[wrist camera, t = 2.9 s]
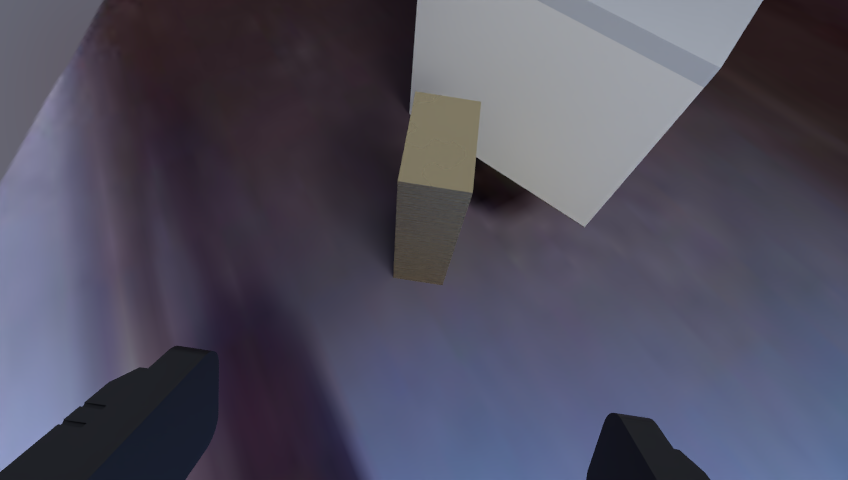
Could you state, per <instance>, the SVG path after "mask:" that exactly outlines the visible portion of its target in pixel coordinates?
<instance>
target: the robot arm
mask: <svg viewBox="0 0 848 480" xmlns="http://www.w3.org/2000/svg"><path fill="white" fill-rule="evenodd" d="M218 389H219V359H218V355H217V353H216V352H214V351H208V350H202V349H195V348H189V347H182V346H174V347H172V348H171V349H170V350H168V351H167V352H166V353H165V354H164V355H163V356H162V357H161V358H159V359H158V360H157V361H156V362H155V363H154V364H153V365H152V366H150V367H149V368H148V369H147V368H141V367H139V368H137V369H135V370H133V371H131V372H129V373H127V374H125V375H123V376H121V377H119V378H117V379H115V380H113V381H111V382H109V383H108V384H106V385H105V386H104V387H103V388H101V389H100V390H99V391H98V392H97V393H95V394H94V395H93V396H92V397H91V398H89V399H88V400H87V401H86V402H85V404H84V406H83V407H78V408H77V409H76V410H75V411H74V412H72V413H71V414H70V415H69V416H68V417H66V418H65V419H64V421H63V423H62V424H61V425H59V424H58V425H57V426H55V427H54V428H53V429H52V430H51V431H49V432H48V433H47V434H46V435H45V436H43V437H42V438H41V439H40V440H38V441H37V442H36V443H35V444H34V445H32V446H31V447H30V448H29V449H28V450H26V451H25V452H24V453H23V454H22V455H20V456H19V457H18V458H17V459H15V460H14V461H13V462H12V463H11V464H9V465H8V466H7V467H6V468H5V469H3V470H2V471H1V472H0V480H185V479H186V478H187V476H188V475H189V473H190V472H191V471H192V469H193V468H194V466H195V465H196V463H197V462H198V460H199V459H200V457H201V456H202V455H203V453H204V452H205V450H206V449H207V447H208V445H209V443H210V441H211V439H212V437H213V434H214V432H215V429H216V425H217V420H218ZM586 480H710V479H709V477H708V476H707V475H706V473H705V472H704V471H702V470H701V469H700V468H699V467H698V466H697V465H696V464H695V463H693V462H692V461H691V460H690V459H689V458H688V457H687V456H685V455H684V454H683V453H682V452H681V451H680V450H677V449H673V447H672V446H671V444H670V443H669V441H668V440H667V439H666V437H665V436H664V434H663V433H662V431H661V430H660V428H659V427H658V425H657V424H656V423H655V422H654V421H653V420H652V419H650V418H644V417H637V416H631V415H624V414H617V413H610V414H609V415H608V416H607V417H606V419H605V421H604V424H603V427H602V430H601V433H600V436H599V439H598V442H597V445H596V448H595V451H594V454H593V457H592V460H591V463H590V466H589V469H588V472H587V479H586Z"/></svg>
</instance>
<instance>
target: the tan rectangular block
mask: <svg viewBox="0 0 848 480" xmlns="http://www.w3.org/2000/svg"><path fill="white" fill-rule="evenodd" d="M480 109H481V102H480V101H474V100H467V99H461V98H455V97H449V96H442V95H436V94H430V93H424V92H417V91H415V96H414V101H413V106H412V111H411V116H410V121H409V127H408V132H407V137H406V142H405V147H404V152H403V157H402V162H401V167H400V172H399V177H398V186H397V208H396V230H395V253H394V275H393V277H394V278H400V279H407V280H413V281H419V282H426V283H432V284H439V285H443V282H444V279H445V276H446V273H447V270H448V266H449V263H450V260H451V257H452V254H453V251H454V248H455V245H456V242H457V239H458V236H459V233H460V230H461V227H462V224H463V220H464V217H465V214H466V211H467V208H468V205H469V202H470V199H471V196H472V193H473V183H474V172H475V161H476V151H477V140H478V130H479V119H480Z"/></svg>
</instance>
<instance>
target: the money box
mask: <svg viewBox="0 0 848 480" xmlns="http://www.w3.org/2000/svg"><path fill="white" fill-rule="evenodd" d="M762 1H763V0H417V12H416V26H415V40H414V54H413V68H412V82H411V97H410V111H409V114H410V115H411V111H412V106H413V101H414V96H415V91H417V92H424V93H430V94H436V95H442V96H449V97H455V98H461V99H467V100H474V101H480V102H481V109H480V119H479V130H478V140H477V151H476V157H477V158H478V159H480V160H482V161H483V162H485V163H486V164H488V165H489V166H491V167H492V168H494V169H495V170H497V171H499V172H500V173H502V174H503V175H505V176H506V177H508V178H509V179H511V180H513V181H514V182H516V183H517V184H519V185H520V186H522V187H523V188H525V189H527V190H528V191H530V192H531V193H533V194H534V195H536V196H537V197H539V198H540V199H542V200H544V201H545V202H547V203H548V204H550V205H551V206H553V207H554V208H556V209H558V210H559V211H561V212H562V213H564V214H565V215H567V216H568V217H570V218H571V219H573V220H575V221H576V222H578V223H579V224H581V225H582V226H584V227H585V226H586V225H587V224H588V223H589V221H590V220H591V219H592V218H593V217H594V216H595V214H596V213H597V212H598V211H599V210H600V208H601V207H602V206H603V205H604V204H605V203H606V201H607V200H608V199H609V198H610V197H611V196H612V194H613V193H614V192H615V191H616V190H617V189H618V187H619V186H620V185H621V184H622V183H623V182H624V180H625V179H626V178H627V177H628V176H629V175H630V173H631V172H632V171H633V170H634V169H635V168H636V166H637V165H638V164H639V163H640V162H641V161H642V159H643V158H644V157H645V156H646V155H647V154H648V152H649V151H650V150H651V149H652V148H653V147H654V145H655V144H656V143H657V142H658V141H659V140H660V138H661V137H662V136H663V135H664V134H665V133H666V131H667V130H668V129H669V128H670V127H671V126H672V124H673V123H674V122H675V121H676V120H677V119H678V117H679V116H680V115H681V114H682V113H683V112H684V110H685V109H686V108H687V107H688V106H689V105H690V103H691V102H692V101H693V100H694V99H695V97H696V96H697V95H698V94H699V93H700V92H701V90H702V89H703V88H704V87H705V86H706V85H707V83H708V82H709V81H710V80H711V79H712V78H713V76H714V75H715V74H716V73H717V72H718V71H719V69H720V68H721V67H722V65H723V64H724V62H725V60H726V59H727V57H728V56H729V54H730V52H731V51H732V49H733V48H734V46H735V44H736V43H737V41H738V40H739V38H740V36H741V35H742V33H743V32H744V30H745V28H746V27H747V25H748V24H749V22H750V20H751V19H752V17H753V15H754V14H755V12H756V11H757V9H758V7H759V6H760V4H761V3H762Z"/></svg>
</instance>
